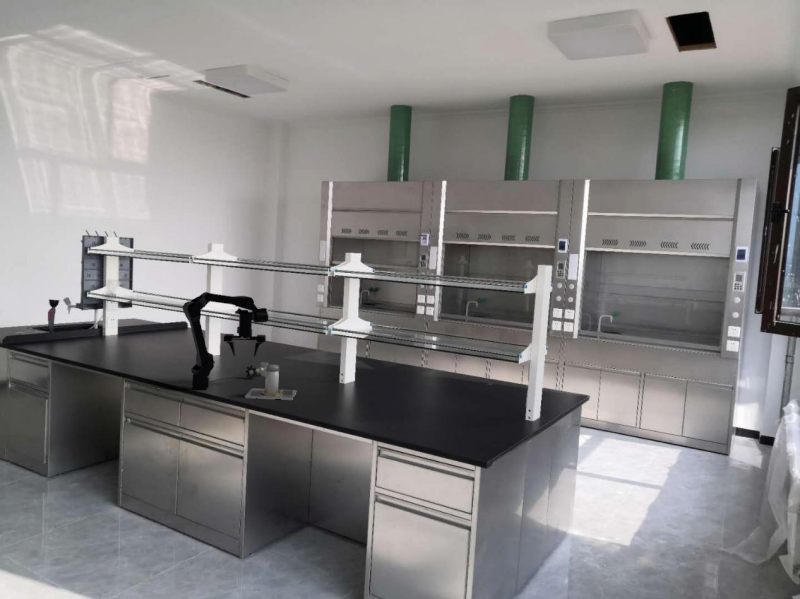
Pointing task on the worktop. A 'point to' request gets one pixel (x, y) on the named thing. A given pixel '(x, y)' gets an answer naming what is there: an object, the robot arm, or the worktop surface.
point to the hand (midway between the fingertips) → (244, 356)
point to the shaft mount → (261, 394)
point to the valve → (257, 370)
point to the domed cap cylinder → (271, 379)
